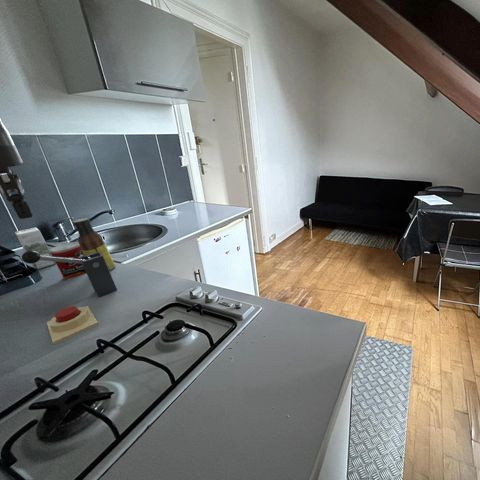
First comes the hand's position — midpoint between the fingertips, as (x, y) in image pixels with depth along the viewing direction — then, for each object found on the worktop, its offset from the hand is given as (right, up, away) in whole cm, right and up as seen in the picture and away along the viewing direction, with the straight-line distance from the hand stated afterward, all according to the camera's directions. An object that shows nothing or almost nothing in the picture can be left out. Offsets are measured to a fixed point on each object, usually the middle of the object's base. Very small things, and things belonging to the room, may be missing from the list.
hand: (25, 215), depth 64 cm
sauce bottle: (-3, -18, +27) cm, 33 cm away
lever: (+4, -13, +5) cm, 14 cm away
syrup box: (-33, -16, +36) cm, 52 cm away
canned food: (-12, -19, +27) cm, 35 cm away
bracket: (+9, -23, +14) cm, 28 cm away
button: (+12, -25, -1) cm, 27 cm away
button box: (+12, -28, 0) cm, 31 cm away
